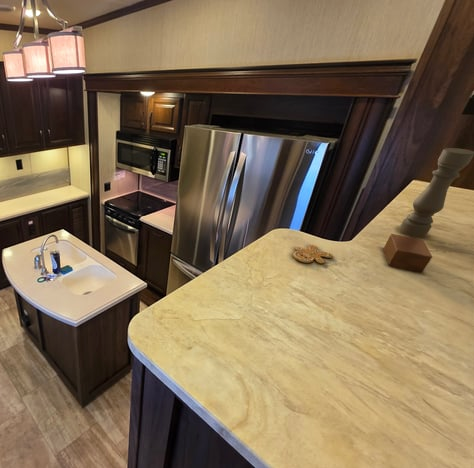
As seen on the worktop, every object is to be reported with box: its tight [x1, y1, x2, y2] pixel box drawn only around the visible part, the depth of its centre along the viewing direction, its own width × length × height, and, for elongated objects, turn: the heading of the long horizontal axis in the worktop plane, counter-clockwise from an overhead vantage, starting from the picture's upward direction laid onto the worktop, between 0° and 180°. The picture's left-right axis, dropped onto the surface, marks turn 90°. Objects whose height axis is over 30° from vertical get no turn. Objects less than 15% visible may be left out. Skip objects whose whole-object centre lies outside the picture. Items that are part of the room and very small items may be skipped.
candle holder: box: [398, 147, 474, 239], centre depth 82 cm, size 6×6×25 cm
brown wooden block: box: [383, 233, 433, 274], centre depth 76 cm, size 6×9×5 cm
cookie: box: [292, 244, 334, 264], centre depth 80 cm, size 8×1×10 cm
